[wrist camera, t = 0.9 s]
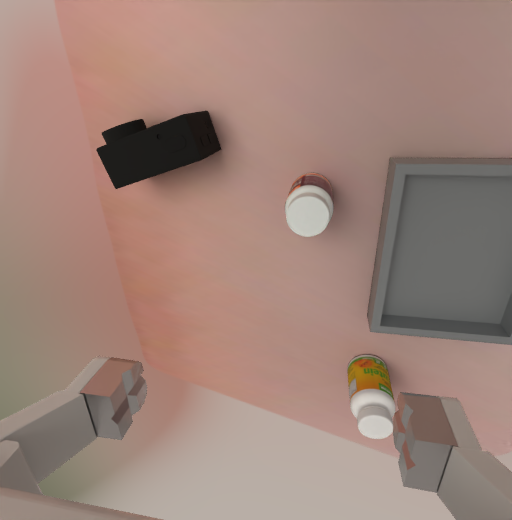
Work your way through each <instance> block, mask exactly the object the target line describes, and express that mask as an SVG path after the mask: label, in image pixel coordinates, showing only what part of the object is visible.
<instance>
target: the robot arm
mask: <svg viewBox="0 0 512 520" xmlns="http://www.w3.org/2000/svg"><path fill="white" fill-rule="evenodd" d="M143 371H144V370H143V366H142V363H141V362H139V361H133V360H125V359H119V358H110V357H103V356H97V357H95V358H94V359H93V360H92V361H91V362H90V363H89V364H88V365H87V366H86V367H85V368H84V370H83V371H82V372H81V373H80V374H79V375H78V376H77V377H76V378H75V379H74V380H73V382H72V383H71V384H70V385H69V386H68V387H67V388H66V389H65V390H64V391H58V392H56V393H54V394H52V395H50V396H48V397H46V398H44V399H42V400H40V401H38V402H36V403H34V404H32V405H30V406H28V407H26V408H24V409H22V410H20V411H18V412H16V413H14V414H12V415H11V416H8V417H6V418H4V419H2V420H0V520H162V519H157V518H152V517H147V516H143V515H137V514H133V513H128V512H123V511H118V510H113V509H108V508H103V507H98V506H94V505H89V504H84V503H79V502H74V501H69V500H64V499H60V498H55V497H50V496H44V495H43V494H42V492H41V490H40V487H39V485H38V483H39V482H41V481H42V480H43V479H45V478H46V477H47V476H48V475H50V474H51V473H52V472H54V471H55V470H56V469H57V468H59V467H60V466H61V465H63V464H64V463H65V462H67V461H68V460H69V459H70V458H72V457H73V456H74V455H76V454H77V453H78V452H79V451H81V450H82V449H83V448H85V447H86V446H87V445H89V444H90V443H91V442H92V441H94V440H95V439H96V438H97V437H104V438H111V439H118V440H122V439H123V437H124V435H125V433H126V432H127V430H128V429H129V427H130V425H131V424H132V422H133V421H132V415H133V414H135V413H136V412H137V411H139V410H140V409H141V407H142V405H143V404H144V401H145V398H146V394H147V385H146V381H145V380H144V379H143V377H142V376H141V374H142V372H143ZM397 404H398V409H399V410H398V411H397V412H395V414H394V420H393V436H394V443H395V448H396V449H397V450H398V451H399V452H400V458H399V468H400V472H401V477H402V482H403V486H405V487H410V488H415V489H420V490H425V491H431V492H436V493H437V495H438V496H439V498H440V499H441V500H442V502H443V503H444V504H445V506H446V507H447V508H448V510H449V511H450V512H451V514H452V515H453V516H454V518H455V519H456V520H512V472H511V471H510V470H509V469H508V468H507V467H506V466H504V465H503V464H502V463H501V462H500V461H499V460H498V459H496V458H495V457H494V456H493V455H492V454H491V453H490V452H488V451H482V449H481V447H480V444H479V442H478V440H477V438H476V436H475V434H474V431H473V429H472V427H471V425H470V423H469V421H468V418H467V416H466V414H465V412H464V410H463V407H462V405H461V403H460V401H459V400H458V399H457V398H449V397H439V396H437V397H436V396H430V395H420V394H411V393H402V392H400V394H399V395H398V400H397Z"/></svg>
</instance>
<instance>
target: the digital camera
mask: <svg viewBox="0 0 512 520" xmlns="http://www.w3.org/2000/svg"><path fill="white" fill-rule="evenodd" d="M204 121H205V122H204ZM206 122H207V123H206ZM206 126H207V127H206ZM102 136H103V138H104V140H105V142H106V144H107V145H104V146H102V147H99V148H97V152H98V154H99V156H100V158H101V160H102V163H103V165H104V167H105V169H106V171H107V173H108V175H109V177H110V179H111V181H112V183H113V185H114V187H115V188H116V189H118V188H121V187H124V186H126V185H129V184H132V183H135V182H138V181H141V180H144V179H147V178H150V177H153V176H156V175H159V174H162V173H165V172H167V171H170V170H173V169H176V168H179V167H182V166H185V165H188V164H191V163H194V162H197V161H200V160H202V159H204V158H206V157H208V156H210V155H212V154H214V153H215V152H217V151H219V150H221V147H220V144H219V141H218V138H217V135H216V133H215V130H214V127H213V124H212V121H211V119H210V116H209V113H208V111H202V112H195V113H188V114H183V115H180V116H178V117H175V118H173V119H170V120H168V121H165V122H162V123H160V124H157V125H155V126H152V127H150V128H146V125H145V123H144V120H143V119H139V120H135V121H131V122H128V123H124V124H121V125H119V126H116V127H113V128H111V129H108V130H106V131H104V132H102Z"/></svg>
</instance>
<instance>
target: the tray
mask: <svg viewBox="0 0 512 520" xmlns="http://www.w3.org/2000/svg"><path fill="white" fill-rule="evenodd" d="M367 317H368V322H369V328H370V332H376V333H387V334H398V335H409V336H420V337H431V338H442V339H453V340H464V341H474V342H485V343H496V344H507V345H512V158H390V162H389V168H388V175H387V182H386V189H385V196H384V203H383V210H382V217H381V224H380V230H379V237H378V244H377V251H376V258H375V265H374V272H373V279H372V286H371V292H370V299H369V306H368V313H367Z"/></svg>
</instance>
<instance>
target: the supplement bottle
mask: <svg viewBox="0 0 512 520" xmlns="http://www.w3.org/2000/svg"><path fill="white" fill-rule="evenodd" d="M348 383H349V396H350V407H351V411H352V413H353V415H354V416H355V417H356V418H357V423H358V429H359V431H360V432H361V433H362V434H363V435H364V436H366V437H369V438H372V439H382V438H386V437H388V436H389V435H390V434H391V433H392V432H393V421H392V417H393V416H394V414H395V402H394V397H393V393H392V388H391V384H390V379H389V374H388V370H387V366H386V364H385V363H384V361H383V360H381V359H380V358H378V357H376V356H373V355H360V356H357V357H355V358H353V359H352V360H351V361H350V363H349V365H348Z"/></svg>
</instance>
